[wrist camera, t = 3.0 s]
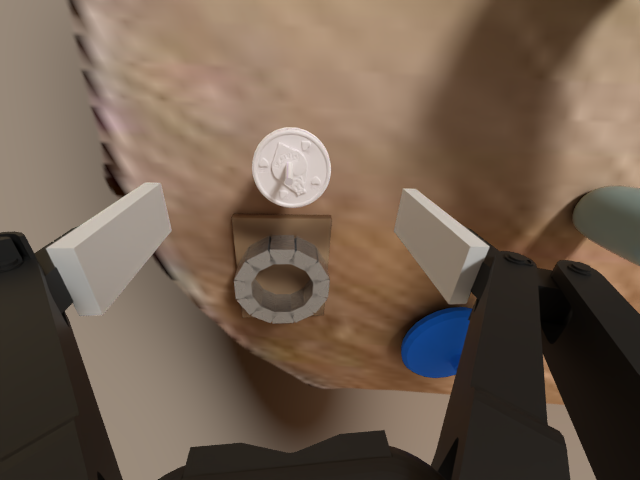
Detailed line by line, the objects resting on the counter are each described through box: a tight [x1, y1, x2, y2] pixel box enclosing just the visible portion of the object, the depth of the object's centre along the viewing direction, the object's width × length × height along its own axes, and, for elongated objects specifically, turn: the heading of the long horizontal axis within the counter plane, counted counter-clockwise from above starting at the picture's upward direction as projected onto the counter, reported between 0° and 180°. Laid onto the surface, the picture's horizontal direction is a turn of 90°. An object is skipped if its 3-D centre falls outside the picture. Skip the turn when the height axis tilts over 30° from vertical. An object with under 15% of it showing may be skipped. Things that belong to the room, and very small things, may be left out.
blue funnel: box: [401, 307, 472, 378], centre depth 45 cm, size 16×16×7 cm
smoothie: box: [252, 128, 331, 208], centre depth 24 cm, size 6×6×14 cm
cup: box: [572, 186, 640, 266], centre depth 33 cm, size 8×8×10 cm
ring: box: [234, 235, 330, 323], centre depth 35 cm, size 12×12×4 cm
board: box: [232, 214, 332, 318], centre depth 37 cm, size 16×12×1 cm
